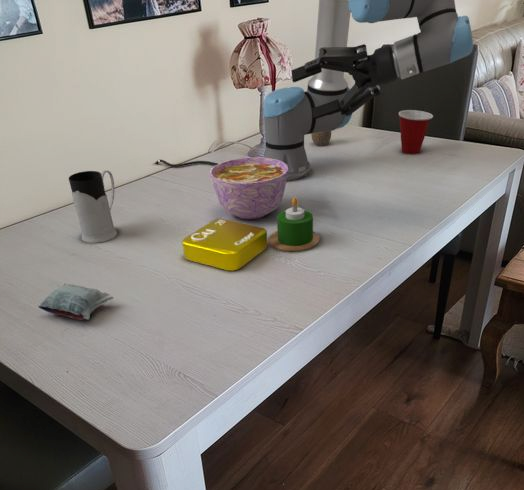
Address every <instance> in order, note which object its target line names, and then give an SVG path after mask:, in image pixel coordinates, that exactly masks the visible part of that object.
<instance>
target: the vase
mask: <svg viewBox="0 0 524 490" xmlns="http://www.w3.org/2000/svg"><path fill="white" fill-rule="evenodd" d="M331 139H332V131H324V132H318V133H312V134H311V140H312V142H313V144H314V145H315V146H319V147H323V146H324V147H325V146H327V145H328V144H329V143H330V141H331Z"/></svg>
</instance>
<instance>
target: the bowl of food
mask: <svg viewBox="0 0 524 490" xmlns="http://www.w3.org/2000/svg"><path fill="white" fill-rule="evenodd" d="M288 170H289V169H288V165H287V164H285V163H284V162H282V161H279V160H276V159H271V158H263V157H261V156H260V157H258V156H257V157H255V156H250V157H249V156H248V157H239V158H233V159H229V160H225V161H222V162H219V164H218V165H213V167H212V168H210V169H209V177H210V180H211V183H212V186H213V188H214V192H215V194H216V197H217V200H218V203H219V205H220V206H221V207H222V208H223V209H224V211H226V212H227V213H228V214H231V215H233V216H235V217H238V218H240V219H243V220H257V219H261V218H264V217H265V216H267V215H268V214H270V213H272V212H273V211H275V210H276V209H277V208H278V207H279V205H280V204H281V202H282V201H283V197H284V195H285V190H286V185H287V181H286V180H287V176H288Z"/></svg>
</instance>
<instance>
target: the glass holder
mask: <svg viewBox="0 0 524 490" xmlns="http://www.w3.org/2000/svg"><path fill="white" fill-rule="evenodd" d="M106 173H108V175H109V178H110V182H111V195H110V197H111V198H110V200H109V199H108V196H107V193H106V189H105V182H104V176H105V174H106ZM68 182H69V186H70V190H71V196H72V199H73V204H74V207H75V211H76V216H77V219H78V222H79V226H80V229H81V240H82V241H83V242H85V243H89V244H97V243H104V242H107V241H110V240H112V239H114V238H115V237H116V236H117V234H118V231H117V230H116V229H115V225H114V222H113V217H112V212H111V209H112V208H113V205H114V204H113V203H114V201H115V181H114V176H113V173H112V172H111V171H109V170H103V171H102V172H100V171H97V170H86V171H85V170H84V171H79V172H75V173H73V174H71V175H69V176H68Z"/></svg>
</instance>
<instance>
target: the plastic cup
mask: <svg viewBox="0 0 524 490" xmlns="http://www.w3.org/2000/svg"><path fill="white" fill-rule="evenodd" d="M398 117H399V128H400V144H401V145H400V146H401V153H403V154H406V155H417V154H419V153H420V152H421V150H422V147H423V143H424V141H425V137H426V133H427V130H428V127H429V124H430V122H431V120H432V119H433V118H434V115H433V114H432V113H430V112H428V111H423V110H416V109H406V110H400V111H399V112H398Z"/></svg>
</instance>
